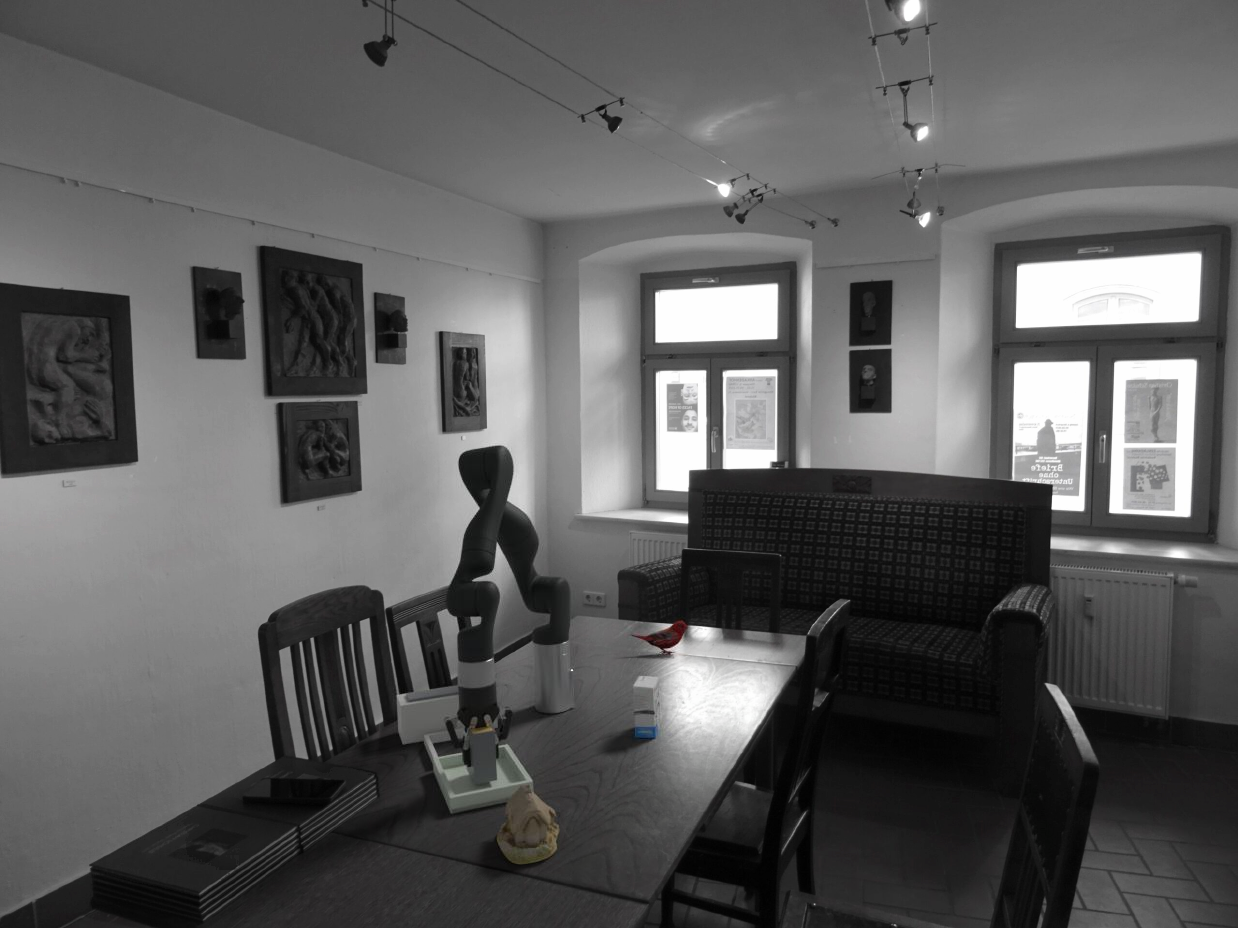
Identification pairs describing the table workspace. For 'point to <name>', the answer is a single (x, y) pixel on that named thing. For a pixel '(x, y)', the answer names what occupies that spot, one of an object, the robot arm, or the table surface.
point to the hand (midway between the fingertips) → (480, 762)
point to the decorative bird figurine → (666, 637)
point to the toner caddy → (482, 755)
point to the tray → (470, 796)
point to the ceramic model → (528, 828)
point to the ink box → (646, 707)
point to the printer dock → (428, 716)
